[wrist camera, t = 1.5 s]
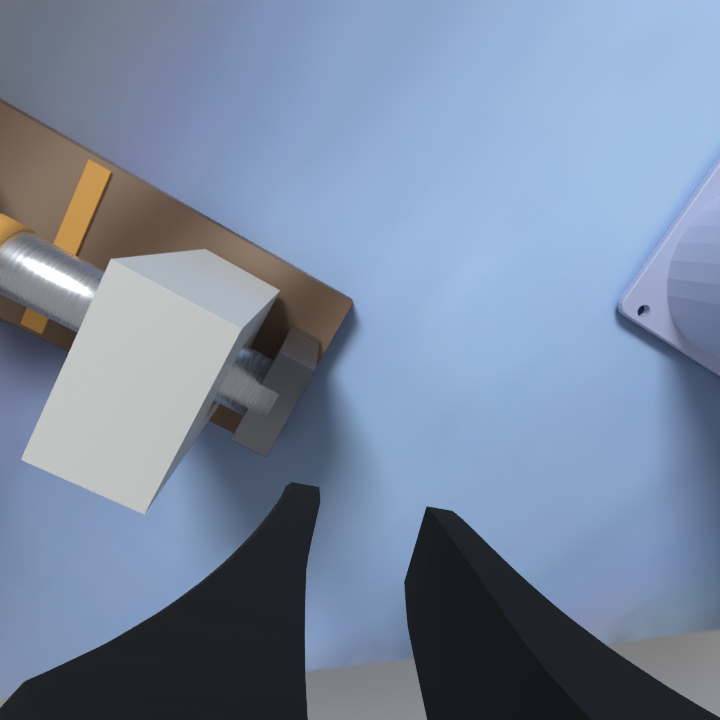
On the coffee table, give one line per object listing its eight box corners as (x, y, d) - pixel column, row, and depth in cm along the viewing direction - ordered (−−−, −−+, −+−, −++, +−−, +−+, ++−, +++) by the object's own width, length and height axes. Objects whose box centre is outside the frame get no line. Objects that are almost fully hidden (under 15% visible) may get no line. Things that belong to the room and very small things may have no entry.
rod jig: (352, 299, 19) (358, 324, 14) (271, 439, 20) (249, 512, 15) (-20, 87, 17) (-192, 15, 11) (-83, 264, 18) (-264, 276, 13)
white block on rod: (280, 290, 17) (242, 328, 10) (218, 406, 18) (144, 514, 11) (205, 249, 17) (110, 258, 10) (146, 370, 18) (21, 459, 11)
